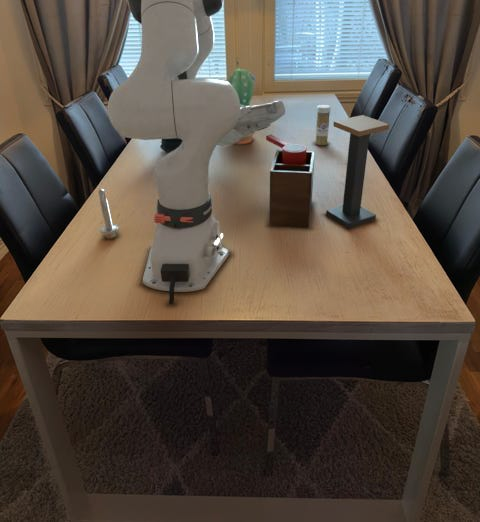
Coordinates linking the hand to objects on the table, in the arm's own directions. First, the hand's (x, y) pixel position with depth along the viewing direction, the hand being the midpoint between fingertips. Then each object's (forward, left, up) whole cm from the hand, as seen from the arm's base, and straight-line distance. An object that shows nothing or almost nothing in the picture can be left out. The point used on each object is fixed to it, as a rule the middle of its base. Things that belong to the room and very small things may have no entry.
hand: (263, 106), depth 125 cm
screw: (-31, +35, -25) cm, 53 cm away
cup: (-8, -6, -16) cm, 18 cm away
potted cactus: (+43, +15, -25) cm, 52 cm away
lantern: (+29, +35, -25) cm, 52 cm away
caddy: (-13, -9, -25) cm, 29 cm away
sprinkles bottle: (+42, -15, -25) cm, 51 cm away
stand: (-13, -25, -25) cm, 37 cm away
